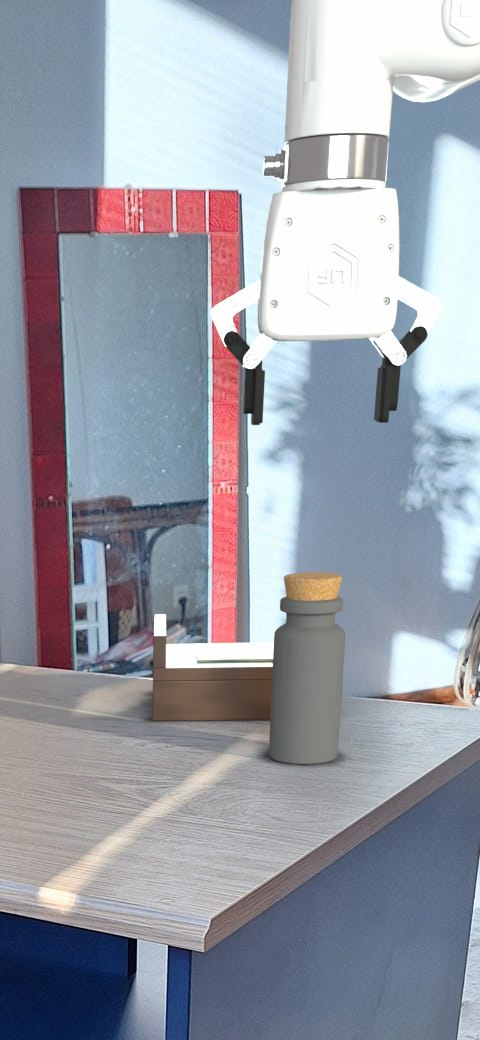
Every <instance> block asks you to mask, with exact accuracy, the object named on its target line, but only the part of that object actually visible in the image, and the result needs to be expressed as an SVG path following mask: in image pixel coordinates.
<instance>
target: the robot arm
mask: <svg viewBox="0 0 480 1040" xmlns="http://www.w3.org/2000/svg"><path fill="white" fill-rule="evenodd" d="M289 23H290V24H289V40H288V41H289V45H288V65H287V82H286V83H287V84H286V101H285V102H286V103H285V120H284V121H285V122H284V123H285V125H284V146H283V147H282V149H280V150H279V153H274V154H273V155H264V156H263V167H262V176H263V177H272V179H277V182H281V185H280V186H281V191H278V192H275V193H273V194H272V196H271V200H270V205H269V209H268V215H267V219H266V229H265V235H264V240H263V241H264V242H263V247H262V256H261V264H260V265H261V267H260V275H259V279H258V280H256V281H255V282H253V283H251V284H249V285H248V286H246V287H244V288H243V289H241V290H239V291H238V292H235V293H234V294H233V295H230V296H229V297H228V298H225V299H224V300H222V301H220V302H219V303H217V304H216V305H214V306H213V307H212V308H211V311H210V315H211V318H212V321H213V322H214V323H213V324H214V325H215V327H216V330H217V332H218V334H219V336H220V338H221V341H222V343H223V345H224V347H225V348H226V349H227V350H228V352H230V353H231V355H232V356H233V357H234V358H235V359H236V360H237V361H238V362H239V364H240V365H241V366H242V367H243V368H244V381H243V383H244V385H243V386H244V387H243V406H242V407H243V408H242V410H243V411H242V414H243V415H250V416H251V417H250V425H251V426H260V425H261V424H263V422H264V403H265V402H264V399H265V382H266V381H265V380H266V370H265V369H263V359H264V358H265V356H266V355H267V354H268V352H269V351H270V350H271V349H272V348H273V346H274V345H275V344H276V343H277V342H319V341H320V342H321V341H322V342H326V341H327V342H328V341H355V340H357V341H358V340H368V339H369V340H370V341H371V343H372V345H373V346H374V347H375V349H376V350H377V351H378V353H379V354H380V356H381V357H382V359H381V365H380V366H379V367H378V368H377V374H376V387H375V401H374V414H373V421H375V422H376V423H380V424H381V423H382V424H386V423H387V424H388V423H389V421H390V412H396V411H397V410H398V405H399V404H398V403H399V395H400V394H399V391H400V390H399V389H400V380H401V370H402V369H401V368H402V367H401V366H402V365H403V364H405V362H406V361H407V359H408V358H409V357H411V355H412V354H413V353H414V352H416V350H417V349H418V348H420V346H421V345H422V344H423V343H425V341H426V340H427V338H428V335H429V333H430V332H431V330H432V329H433V327H434V326H435V323H436V322H437V319H438V318H439V317H440V315H441V313H442V311H443V308H444V302H443V301H442V299H440V298H438V297H437V296H435V295H433V294H431V293H429V291H426V290H424V289H422V288H421V287H419V286H417V285H415V284H414V283H411V282H410V281H408V280H407V279H405V278H403V277H401V276H400V275H399V274H400V215H399V202H398V194H397V189H396V188H392V187H386V184H387V174H388V173H387V171H388V157H389V148H390V147H389V146H390V140H389V139H390V134H391V133H390V131H391V119H392V107H393V106H392V105H393V95H394V93H395V95H398V96H399V97H401V98H403V99H405V100H408V101H410V102H417V103H428V102H435V101H439V100H440V99H443V98H446V97H448V96H450V95H452V94H454V93H456V92H459V91H460V90H463V89H465V88H467V87H468V86H471V85H474V84H476V83H477V82H479V81H480V0H291V7H290V22H289ZM393 92H394V93H393ZM398 300H399V301H401V302H403V303H405V304H406V305H408V306H410V307H412V308H413V309H415V310H416V311H417V317H416V319H415V321H414V323H413V325H412V327H411V328H410V329H409V330H408V332H407V333H406V334H405V335H404V336H403V337H402V338H400V340H398V339H397V337H396V336H395V335H394V332H392V330H393V328H394V327H395V324H396V320H397V314H398V313H397V311H398ZM256 302H257V328H258V332H259V335H258V336H257V338H255V340H254V341H253V342H252V343H251V345H249V343H247V341H245V340H244V338H243V337H242V336H241V335H240V334H239V333H238V330H237V327H236V325H235V323H234V316H235V315H236V314H237V313H239V312H241V311H242V310H244V309H245V308H247V307H248V306H251V305H253V304H254V303H256Z"/></svg>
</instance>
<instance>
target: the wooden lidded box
mask: <svg viewBox="0 0 480 1040" xmlns="http://www.w3.org/2000/svg"><path fill="white" fill-rule="evenodd" d="M152 637H153V642H152V645H153V647H152V660H153V661H152V722H174V721H175V722H178V721H180V722H181V721H184V722H185V721H188V722H189V721H193V722H194V721H268V720H269V721H270V714H271V690H272V669H273V650H274V641H272V642H270V641H269V642H266V641H265V642H211V643H210V642H209V643H167V614H165V613H156V614H155V613H154V615H153V636H152Z"/></svg>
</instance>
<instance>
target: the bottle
mask: <svg viewBox="0 0 480 1040" xmlns="http://www.w3.org/2000/svg"><path fill="white" fill-rule="evenodd" d="M283 581H284V589H285V595H286V596H284V597H281V598H280V601H279V610H280V611H281V612H283V613H285V614H286V617H285V623H283V624H281V625H280V626H279V627H278V628H276V630H274V635H273V642H274V650H273V669H272V690H271V714H270V720H269V740H268V741H269V742H268V755H269V758H270V759H272V760H274V761H277V762H281V763H285V764H294V765H315V764H325V763H328V762H329V763H330V762H332V761H334V760H337V758H338V753H339V742H340V728H341V726H340V725H341V711H342V699H343V698H342V697H343V685H344V684H343V683H344V665H345V652H346V651H345V649H346V630H345V629H344V628H343V627H342V626H340V625H339V624H337V623H336V613H339V612H342V611H343V609H344V607H343V606H344V599H343V597H341V596H338V595H339V592H340V587H341V584H342V581H343V576H342V574H339V573H334V572H318V571H317V572H316V571H315V572H313V571H312V572H309V571H308V572H297V573H288V574H285V575H284V576H283Z"/></svg>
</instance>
